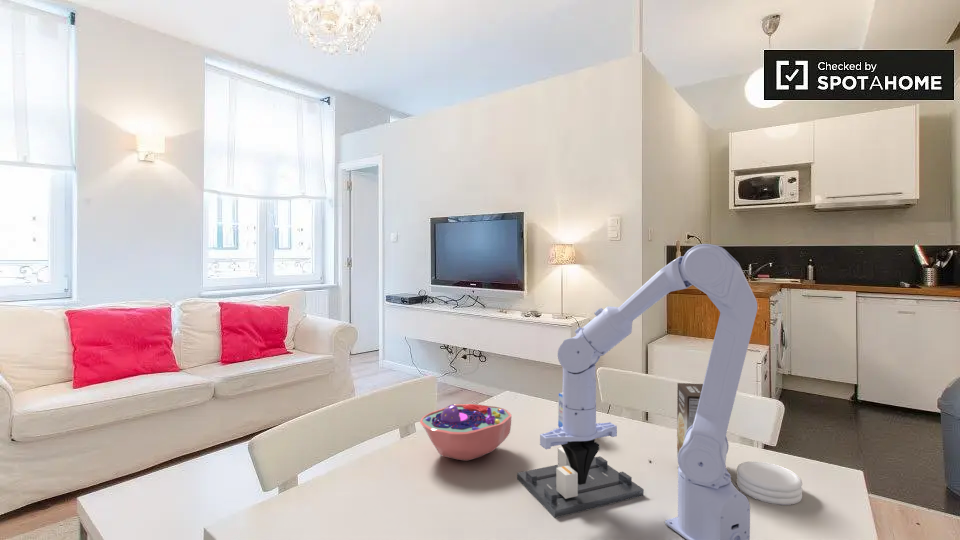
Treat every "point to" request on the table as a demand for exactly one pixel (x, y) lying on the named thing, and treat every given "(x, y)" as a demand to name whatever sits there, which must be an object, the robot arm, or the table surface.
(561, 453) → the far fader
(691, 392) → the coffee box
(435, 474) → the table surface
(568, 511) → the console
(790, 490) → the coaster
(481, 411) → the cell model
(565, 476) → the near fader
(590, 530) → the table surface
